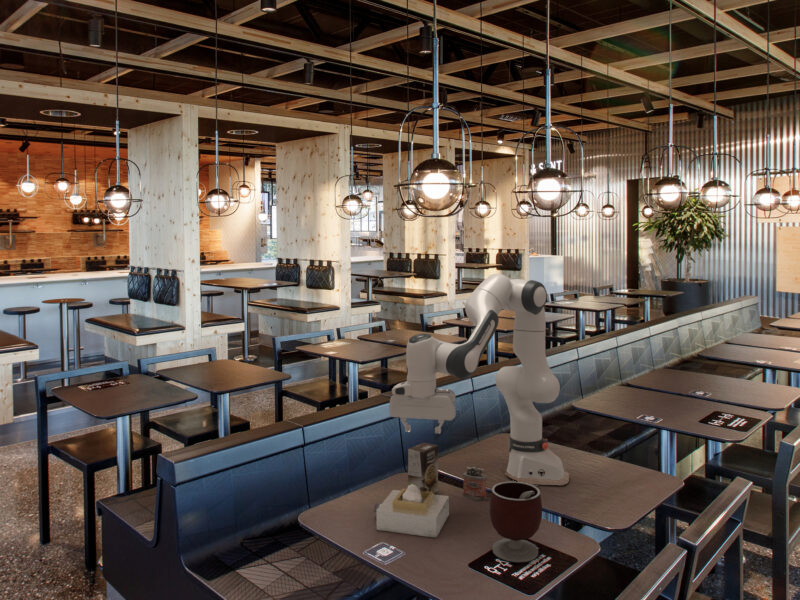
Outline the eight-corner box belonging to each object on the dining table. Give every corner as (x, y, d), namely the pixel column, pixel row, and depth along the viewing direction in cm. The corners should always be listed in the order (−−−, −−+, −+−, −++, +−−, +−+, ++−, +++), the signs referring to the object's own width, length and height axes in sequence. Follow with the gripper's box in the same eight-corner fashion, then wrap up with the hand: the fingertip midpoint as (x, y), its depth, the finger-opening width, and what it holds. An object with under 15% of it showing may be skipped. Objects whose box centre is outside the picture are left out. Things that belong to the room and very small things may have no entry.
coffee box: (423, 500, 209) (423, 452, 208) (407, 495, 213) (407, 448, 212) (438, 491, 216) (438, 445, 215) (423, 487, 220) (423, 441, 219)
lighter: (461, 496, 212) (461, 467, 211) (465, 493, 215) (465, 464, 214) (484, 501, 208) (484, 471, 207) (487, 497, 211) (488, 467, 210)
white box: (448, 514, 198) (448, 489, 197) (436, 537, 183) (436, 510, 182) (384, 507, 204) (384, 482, 203) (367, 528, 189) (366, 502, 188)
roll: (415, 478, 196) (425, 484, 191) (415, 516, 197) (425, 522, 193) (398, 482, 193) (408, 488, 188) (398, 520, 194) (408, 527, 189)
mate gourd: (480, 544, 179) (480, 474, 177) (523, 535, 184) (524, 468, 182) (508, 570, 164) (509, 495, 162) (555, 560, 169) (556, 487, 167)
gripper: (457, 386, 194) (458, 431, 196) (393, 384, 200) (394, 427, 202) (453, 392, 188) (454, 437, 190) (386, 389, 194) (388, 433, 196)
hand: (422, 432), depth 196 cm, fingers open, 8 cm apart
